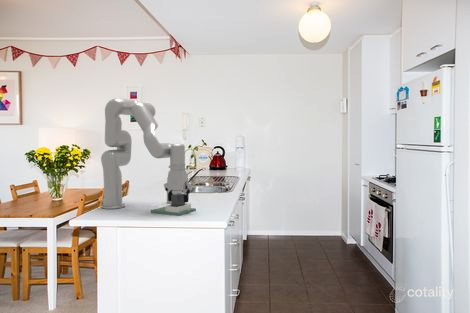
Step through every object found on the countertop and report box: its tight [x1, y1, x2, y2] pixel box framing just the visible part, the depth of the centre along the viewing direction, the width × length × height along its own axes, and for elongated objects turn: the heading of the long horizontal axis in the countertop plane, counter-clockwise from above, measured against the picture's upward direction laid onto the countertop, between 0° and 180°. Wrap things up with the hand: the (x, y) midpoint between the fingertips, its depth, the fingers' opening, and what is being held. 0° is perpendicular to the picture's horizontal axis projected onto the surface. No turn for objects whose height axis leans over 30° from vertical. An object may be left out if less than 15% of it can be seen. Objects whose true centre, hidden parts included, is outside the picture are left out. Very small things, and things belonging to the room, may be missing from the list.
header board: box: [150, 202, 197, 217], centre depth 194 cm, size 18×14×4 cm
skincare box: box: [166, 177, 183, 205], centre depth 219 cm, size 8×6×15 cm
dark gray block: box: [170, 192, 185, 207], centre depth 193 cm, size 4×7×8 cm, turn 150°
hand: (178, 201), depth 193 cm, fingers open, 9 cm apart
